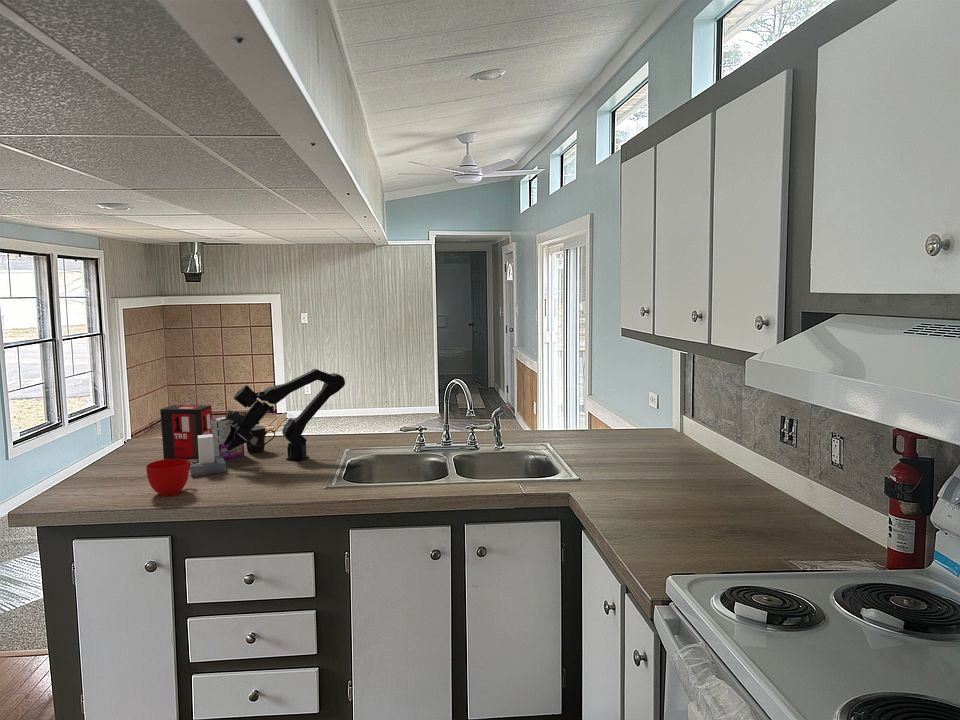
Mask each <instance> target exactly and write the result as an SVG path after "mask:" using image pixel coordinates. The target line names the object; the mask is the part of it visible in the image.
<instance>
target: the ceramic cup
mask: <svg viewBox="0 0 960 720" xmlns="http://www.w3.org/2000/svg"><path fill="white" fill-rule="evenodd" d="M188 460H189V459H160V460H156V461H152V462H150V463H148V464H147V465H146V467H145V468H146V469H145V470H146V476H147V479H148V483H149V485H150V487H151V489H152V490H153V491H154V492H155V493H157V494H158V495H159V496H163V497H169V496H170V497H171V496H174V495H178V494H179V492H180V491H182V490H183V489H184V487H185V486H186V484H187V482H188V480H189V475H190V471H189V469H190V462H189V461H188ZM177 493H178V494H177ZM180 493H181V492H180Z"/></svg>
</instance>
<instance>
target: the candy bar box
mask: <svg viewBox="0 0 960 720" xmlns="http://www.w3.org/2000/svg"><path fill="white" fill-rule="evenodd" d="M231 422H232V420H227V419H226V418H225V416H219V417H216V418H212V419H211V429H212V435H213V442H214V456H222V457H223V459H224V461H226V459H227V460H230V458H231V459H234V457H235V458H239V457H242V455H243V456H245V443H244V444H242V445H240V446H238V447H236V448H234V449H232V450H230V451H228V450H227V447H228V446H229V444H228V445H226V446H225V445H224V442H225V440H226V438H227V436H228V435H229V433H230V425H232V424H231ZM238 456H239V457H238Z"/></svg>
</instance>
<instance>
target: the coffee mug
mask: <svg viewBox="0 0 960 720" xmlns="http://www.w3.org/2000/svg"><path fill="white" fill-rule="evenodd" d="M251 431H252V432H251V433H252V434H253V438H252V439H251V441H250V442H249V441H248V440H247V441H248V442H247V443H245V445H246V449H247V450H246V451H247V453H248V452H249V453H248V454H251V453H256V454H261V453H263V452H265V446H266V444H267V445H268V443H270V442H271V441H272V440H273V439H274V438H275V437H276V431H274V430H273V429H267V430H266V426H265V425H260V424H258V425H256V426H255V427H254V428H253V429H252V430H251ZM269 432H272V433H273V437H271V438H270V439H269V440H267V441H266V435H267V433H269ZM265 441H266V442H265Z"/></svg>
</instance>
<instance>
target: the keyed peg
mask: <svg viewBox="0 0 960 720" xmlns="http://www.w3.org/2000/svg"><path fill="white" fill-rule="evenodd" d="M198 452H199V463H198V464H205V463H213V462H215V458H214V442H213V435H212V434H207V435H198Z"/></svg>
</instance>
